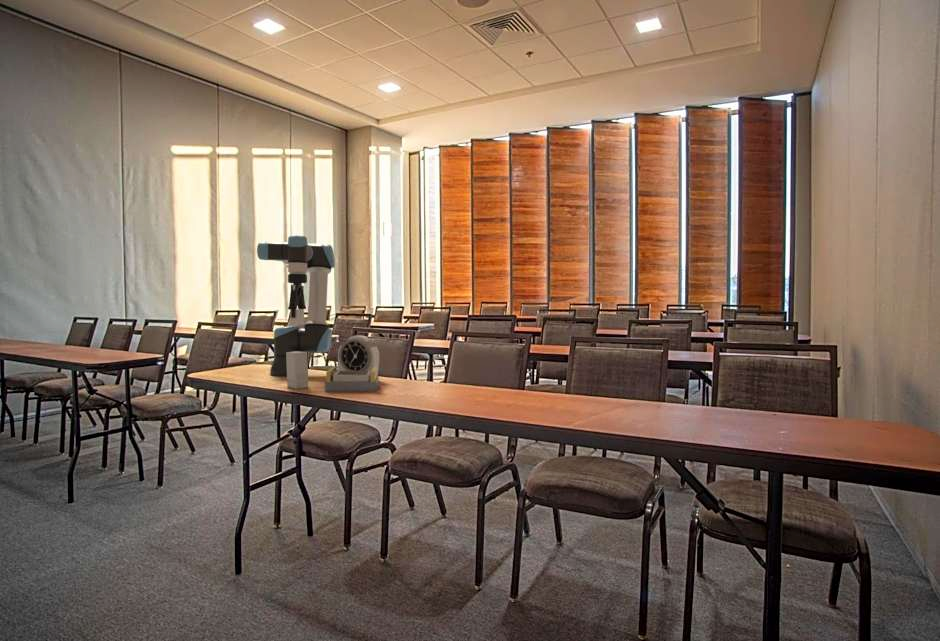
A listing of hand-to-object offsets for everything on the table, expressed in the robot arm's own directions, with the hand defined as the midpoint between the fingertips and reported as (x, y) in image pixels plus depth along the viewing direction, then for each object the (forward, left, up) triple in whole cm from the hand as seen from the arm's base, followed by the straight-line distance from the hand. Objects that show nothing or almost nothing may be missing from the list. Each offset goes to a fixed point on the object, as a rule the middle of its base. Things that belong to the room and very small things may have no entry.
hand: (297, 325), depth 234 cm
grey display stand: (+3, +23, -27) cm, 36 cm away
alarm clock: (-21, +23, -26) cm, 41 cm away
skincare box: (0, 0, -26) cm, 26 cm away
